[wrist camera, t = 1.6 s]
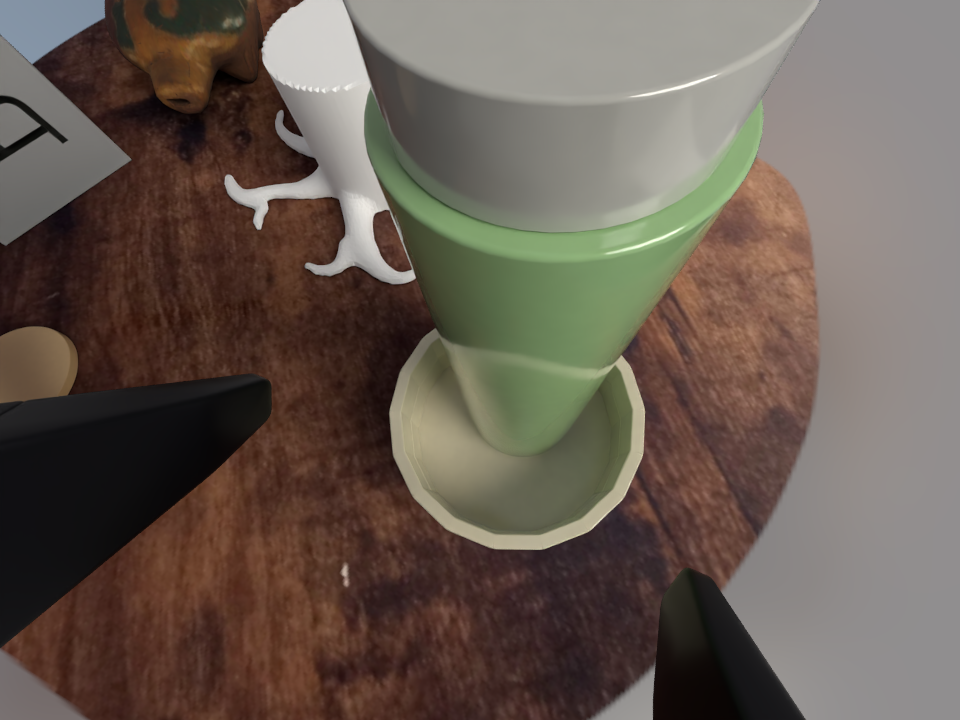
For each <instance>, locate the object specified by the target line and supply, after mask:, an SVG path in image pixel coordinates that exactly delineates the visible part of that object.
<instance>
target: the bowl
mask: <svg viewBox="0 0 960 720" xmlns="http://www.w3.org/2000/svg"><path fill="white" fill-rule="evenodd" d="M389 411H390V412H389V417H390V429H391V441H392V453H393V457H394V459H395V461H396V463H397V466H398V468H399V470H400V472H401V474H402V476H403V478H404V480H405V483H406V485H407V487H408V489H409V491H410V493H411V495H412V496H413V498H414V499H415V500H416V501H417V502H418V503H419V504H420V505H421V506H422V507H423V508H424V509H425V510H426V511H427V512H428V513H430V514H431V515H432V516H433V517H434V518H435V519H436V520H437V521H438V522H439V523H440V524H441V525H442V526H443V527H444V528H445V529H447V530H448V531H450V532H453V533H455V534H458V535H460V536H462V537H465V538H467V539H470V540H472V541H474V542H477V543H479V544H481V545H484V546H486V547H489V548H493V549H519V550H542V549H546V548H549V547H551V546H554V545H556V544H559V543H561V542H564V541H567V540H569V539H572V538H574V537H577V536H579V535H582V534H585V533H587V532H588V531H590V530H591V529H592V528H593V527H595V526H596V525H597V524H598V523H599V522H600V521H601V520H602V519H603V518H604V517H605V516H606V515H607V514H608V513H609V512H610V511H611V510H612V509H613V508H614V507H615V506H617V505H618V504H619V503H620V502H621V501H622V500H623V498H624V497H625V495H626V493H627V491H628V488H629V486H630V484H631V482H632V479H633V477H634V475H635V473H636V470H637V468H638V466H639V464H640V461H641V459H642V457H643V449H644V425H645V408H644V405H643V402H642V399H641V396H640V393H639V390H638V387H637V383H636V380H635V377H634V374H633V371H632V369H631V367H630V365H629V364H628V363H627V362H626V360H625V359H624V358H623V356H622V355H621V357H620V358H619V360H618V361H617V362H616V364H615V365H614V367H613V368H612V370H611V371H610V372H609V374H608V375H607V377H606V378H605V380H604V381H603V382H602V384H601V385H600V387H599V388H598V390H597V391H596V392H595V394H594V395H593V397H592V398H591V400H590V401H589V402H588V404H587V405H586V407H585V408H584V410H583V411H582V412H581V414H580V415H579V417H578V418H577V420H576V421H575V422H574V424H573V425H572V427H571V428H570V430H569V431H568V432H567V434H566V435H565V436H564V438H563V439H562V440H561V441H560V442H559V443H558V444H557V445H556V446H555V447H553V448H552V449H550V450H549V451H547V452H545V453H542V454H540V455H536V456H532V457H515V456H510V455H506V454H503V453H501V452H499V451H497V450H495V449H494V448H492V447H491V446H490V445H488V444H487V443H486V442H485V441H484V440H483V439H482V437H481V436H480V435H479V433H478V432H477V430H476V428H475V426H474V423H473V421H472V418H471V416H470V413H469V411H468V408H467V406H466V403H465V401H464V398H463V396H462V393H461V391H460V388H459V385H458V383H457V380H456V378H455V375H454V373H453V370H452V368H451V365H450V363H449V360H448V358H447V355H446V353H445V350H444V348H443V345H442V342H441V340H440V337H439V335H438V332H437V330H436V328H435V329H434V330H432V331H431V332H430V333H429V334H427V335H426V336H425V337H424V338H423V339H422V340H421V341H420V343H419V344H418V346H417V347H416V349H415V350H414V351H413V353H412V354H411V356H410V357H409V359H408V360H407V362H406V363H405V365H404V366H403V368H402V369H401V372H400V373H399V377H398V380H397V384H396V388H395V392H394V395H393V399H392V403H391V406H390V410H389Z"/></svg>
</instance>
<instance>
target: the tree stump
mask: <svg viewBox="0 0 960 720" xmlns="http://www.w3.org/2000/svg"><path fill="white" fill-rule="evenodd" d="M261 51H262V54H263V56H262V59H263V63H264V65H265V67H266V69H267V71H268V73H269V74H270V76H271V78H272V80H273V82H274V84H275V85H276V87H277V89H278V91H279V93H280V95H281V96H282V98H283V100H284V102H285V104H286V106H287V107H288V109H289V111H290V113H291V115H292V117H293V118H294V120H295V122H296V124H297V126H298V128H299V130H300V131H301V133H302V135H303V137H301V136H298V135H295V134H293V133H291V132H290V131H288V130H287V129H286V128H285V127H284V125H283V117H284V114H283V113H284V112H283V110H280V111H279V112H278V113H277V116H276V120H275V127H276V131H277V134H278V135H279V136H280V138H281V139H282V140H283V141H284V142H285V143H286V144H287V145H288V146H290V147H291V148H293V149H295V150H296V151H297V152H298V153H302V154H304V155H306V156H309V157H313V158H315V159H316V161H317V163H318V164H319V166H318V168H317V170H316V171H315V172H314V173H313V174H311V175H310V176H308V177H307V178H305V179H303V180H301V181H298V182H295V183H287V184H275V185H270V186H264V187H259V188H256V189H243V188H241V187H240V186H239V185H238V184H237V183H236V181H235V180H234V178H233V176H232V175H226V176H225V186H226V190H227V193H228V195H229V196H230V197H231V198H232V199H233V200H234V201H236V202H237V203H239V204H243V205H244V206H247V207H251V208H253V209H254V210H255V211H256V212H255V215H254V219H253V223H254V225H255V226H256V228H257V230H261V228H262V224H263V218H264V216H265V215H266V213H267V211H268V203H267V201H269V200H271V199H276V198H280V199H284V198H291V199H306V198H308V199H316V198H323V197H333V198H337V199H339V201H340V204H341V209H342V213H343V217H344V222H345V237H344V238H343V239H342V240H341V241H340V243H339V248H338V253H337V256H336V258H335V260H334V261H333V262H332V263H331V264H328V265H315V264H312V263H306V264H305V268H306V269H309V270H311V271H312V272H313V273H314V274H316V275H317V274H319V275H322V276H323V275H327V276H332V275H334V274H337V273H341V272H342V271H343V270H345V269H346V268H348V267H351V266H357V267H360V268H362V269H364V270H365V271H367V272H368V273H369V274H371V275H372V276H373V277H375V278H377V279H379V280H380V281H383V282H388V283H390V284H404V283H407V282H410V281H412V280H414V279H415V278H416V277H415V274H414V272H413V269H412V270H410V271H406V272H397V271H395V270H393V269H392V268H391V267H390V266H388V265H387V264H386V262H385V261H384V260H383V258H382V257H381V255H380V253H379V249H378V247H377V245H376V242H375V240H374V233H373V217H374V215H375V213H377V212H381V211H383V210H389V208H388V206H387V203H386V201H385V198H384V196H383V193H382V191H381V188H380V186H379V183H378V181H377V178H376V175H375V173H374V170H373V168H372V165H371V162H370V160H369V157H368V154H367V150H366V144H365V139H364V112H365V106H366V101H367V96H368V93H369V90H370V83H369V80H368V77H367V74H366V71H365V68H364V65H363V62H362V59H361V56H360V53H359V50H358V46H357V43H356V40H355V37H354V34H353V31H352V28H351V25H350V22H349V19H348V16H347V13H346V10H345V6H344V3H343V0H304V1H302V2H301V3H300V4H298V5H297V6H296V7H293V8H290V9H289V10H288V12H287V13H284V14H283V15H282V16H281V18H280V19H278V20H276V23H273V26H272V27H271V28H270V31H268V32H267V36H265V41H264V42H263V48H262V50H261Z"/></svg>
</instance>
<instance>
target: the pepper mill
mask: <svg viewBox="0 0 960 720" xmlns="http://www.w3.org/2000/svg"><path fill="white" fill-rule="evenodd" d="M819 2H820V0H343V3H344V6H345V10H346V13H347V16H348V19H349V22H350V25H351V28H352V31H353V34H354V37H355V40H356V43H357V46H358V50H359V53H360V56H361V59H362V62H363V65H364V68H365V71H366V74H367V77H368V80H369V83H370V90H369V93H368V96H367V101H366V106H365V112H364V139H365V144H366V150H367V154H368V157H369V160H370V162H371V165H372V168H373V170H374V173H375V175H376V178H377V181H378V183H379V186H380V188H381V191H382V193H383V196H384V198H385V201H386V203H387V206H388V208H389V211H390V213H391V216H392V218H393V221H394V224H395V226H396V229H397V231H398V234H399V236H400V239H401V241H402V244H403V246H404V249H405V251H406V254H407V256H408V259H409V261H410V264H411V267H412V269H413V272H414V274H415V277H416V279H417V282H418V284H419V287H420V289H421V292H422V294H423V297H424V299H425V302H426V305H427V307H428V310H429V312H430V315H431V317H432V320H433V322H434V325H435V327H436V330H437V332H438V335H439V337H440V340H441V342H442V345H443V348H444V350H445V353H446V355H447V358H448V360H449V363H450V365H451V368H452V370H453V373H454V375H455V378H456V380H457V383H458V385H459V388H460V391H461V393H462V396H463V398H464V401H465V403H466V406H467V408H468V411H469V413H470V416H471V418H472V421H473V423H474V426H475V428H476V430H477V432H478V433H479V435H480V436H481V437H482V439H483V440H484V441H485V442H486V443H487V444H488V445H490V446H491V447H492V448H494V449H495V450H497V451H499V452H501V453H503V454H506V455H510V456H515V457H532V456H536V455H540V454H542V453H545V452H547V451H549V450H550V449H552V448H553V447H555V446H556V445H557V444H558V443H559V442H560V441H561V440H562V439H563V438H564V436H565V435H566V434H567V432H568V431H569V430H570V428H571V427H572V425H573V424H574V422H575V421H576V420H577V418H578V417H579V415H580V414H581V412H582V411H583V410H584V408H585V407H586V405H587V404H588V402H589V401H590V400H591V398H592V397H593V395H594V394H595V392H596V391H597V390H598V388H599V387H600V385H601V384H602V382H603V381H604V380H605V378H606V377H607V375H608V374H609V372H610V371H611V370H612V368H613V367H614V365H615V364H616V362H617V361H618V360H619V358H620V357H621V355H622V354H623V352H624V351H625V350H626V348H627V347H628V345H629V344H630V342H631V341H632V340H633V338H634V337H635V335H636V334H637V332H638V331H639V330H640V328H641V327H642V325H643V324H644V323H645V321H646V320H647V318H648V317H649V315H650V314H651V313H652V311H653V310H654V308H655V307H656V305H657V304H658V303H659V301H660V300H661V298H662V297H663V295H664V294H665V293H666V291H667V290H668V288H669V287H670V285H671V284H672V283H673V281H674V280H675V278H676V277H677V275H678V274H679V273H680V271H681V270H682V268H683V267H684V265H685V264H686V263H687V261H688V260H689V258H690V257H691V255H692V254H693V253H694V251H695V250H696V248H697V247H698V245H699V244H700V243H701V241H702V240H703V238H704V237H705V235H706V234H707V233H708V231H709V230H710V228H711V227H712V226H713V224H714V223H715V221H716V220H717V218H718V217H719V216H720V214H721V213H722V211H723V210H724V208H725V207H726V206H727V204H728V203H729V201H730V200H731V198H732V197H733V196H734V194H735V193H736V191H737V190H738V188H739V187H740V186H741V184H742V183H743V181H744V180H745V178H746V177H747V175H748V173H749V171H750V169H751V167H752V165H753V163H754V161H755V159H756V156H757V152H758V148H759V145H760V142H761V137H762V128H763V116H764V113H763V104H762V97H763V95H764V94H765V92H766V91H767V89H768V87H769V85H770V84H771V82H772V80H773V79H774V77H775V76H776V74H777V72H778V71H779V69H780V67H781V66H782V64H783V62H784V61H785V59H786V58H787V56H788V54H789V52H790V51H791V49H792V48H793V46H794V44H795V43H796V41H797V39H798V38H799V36H800V34H801V33H802V31H803V29H804V28H805V26H806V24H807V23H808V21H809V20H810V18H811V16H812V15H813V13H814V11H815V10H816V8H817V6H818V4H819Z"/></svg>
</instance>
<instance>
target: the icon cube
mask: <svg viewBox="0 0 960 720" xmlns="http://www.w3.org/2000/svg"><path fill="white" fill-rule="evenodd" d="M131 160H132V159H131V158H129V157H128V156H127V155H126V154H125V153H124V152H123V151H122V150H121V149H120V148H119V147H118V146H117V145H116V144H115V143H114V142H113V141H112V140H111V139H110V138H109V137H108V136H107V135H106V134H105V133H103V132H102V131H101V130H100V129H99V128H98V127H97V126H96V125H95V124H94V123H93V122H92V121H91V120H90V119H89V118H88V117H87V116H86V115H85V114H84V113H83V112H82V111H81V110H80V109H79V108H77V107H76V106H75V105H74V104H73V103H72V102H71V101H70V100H69V99H68V98H67V97H66V96H65V95H64V94H63V93H62V92H61V91H60V90H59V89H57V88H56V87H55V86H54V85H53V84H52V83H51V82H50V81H49V80H48V79H47V78H46V77H45V76H44V75H43V74H42V73H41V72H39V71H38V70H37V69H36V68H35V67H34V66H33V65H32V64H31V63H30V62H29V61H28V60H27V59H26V58H24V56H23V55H21V54H20V53H19V52H18V51H17V50H16V49H15V48H14V47H13V46H12V45H11V44H10V43H9V42H8V41H7V40H5V39H4V38H3V37H2V36H1V35H0V243H2V244H4V245H7V244H9V243H10V242H12V241H13V240H15V239H16V238H18V237H19V236H21V235H22V234H23V233H25V232H26V231H28V230H29V229H31V228H32V227H34V226H35V225H37V224H38V223H40V222H41V221H43V220H44V219H45V218H47V217H48V216H50V215H51V214H53V213H54V212H56V211H57V210H59V209H60V208H62V207H63V206H65V205H66V204H67V203H69V202H70V201H72V200H73V199H75V198H76V197H78V196H79V195H81V194H82V193H84V192H85V191H87V190H88V189H89V188H91V187H92V186H94V185H95V184H97V183H98V182H100V181H101V180H103V179H104V178H106V177H107V176H109V175H110V174H112V173H113V172H114V171H116V170H117V169H119V168H120V167H122V166H123V165H125V164H126V163H128V162H129V161H131Z"/></svg>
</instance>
